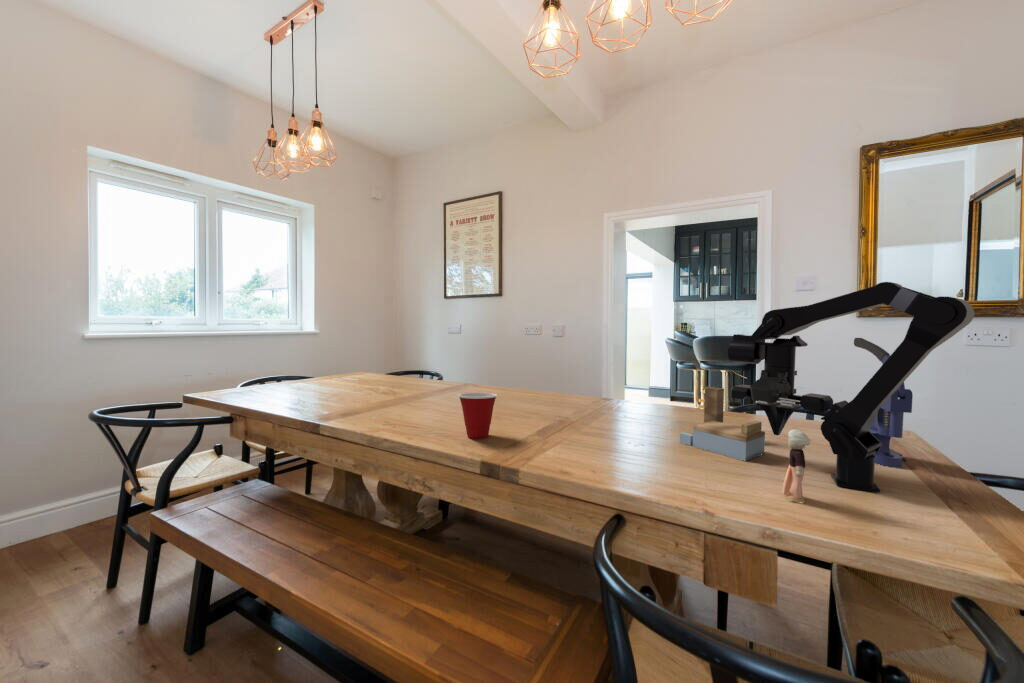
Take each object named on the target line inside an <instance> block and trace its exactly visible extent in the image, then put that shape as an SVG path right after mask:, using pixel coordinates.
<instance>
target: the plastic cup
mask: <svg viewBox="0 0 1024 683" xmlns="http://www.w3.org/2000/svg"><path fill="white" fill-rule="evenodd" d="M457 397H458V398H459V400H460V403H461V409H462V413H463V414H462V415H463V421H464V426H465V430H466V431H465V432H466V435H467V438H469V439H472V440H482V439H486V438H488V437H489V434H490V429H491V428H490V427H491V425H492V419H493V418H492V417H493V411H494V405H495V403H496V402H495V401H496V399H497V397H498V394H497V393H489V392H470V393H469V392H468V393H460V394H458V395H457Z"/></svg>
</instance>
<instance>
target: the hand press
mask: <svg viewBox="0 0 1024 683" xmlns="http://www.w3.org/2000/svg"><path fill="white" fill-rule="evenodd" d="M853 345H854V346H855V347H856V348H860V349H863V350H865V351H867V352H869V353H871V354H872V355H873V356H875V358H876V359H878V360H879V362H880V363H881V364H882V365H883V364H884V363H885V361H886V360H887V359H888V358H889V357H890V356H891V354H890V353H889V352H888V351H886V350H885V349H884V348H882V347H880V346H879V345H877V344H875V343H873V342H871V341H868V340H867V339H864V338H863V337H855V338H854V340H853ZM913 398H914V397H913V391H912V390H911V389H909V388H906V386H905V381H904V382H903V383H902V384H901V385H900V387H899V388H898V389H897V390H896V391H895V392H894V393H893V394H892V395H891V397H890V398H889V399H888V400H887V401H886V402H885V403H884V404H883V405H882V406H881V408H880V409H879V410H878V412H877V415H876V417H875V420H874V423H873V424H872V426H871V428H870V430H869V431H870V432H871V433H872V434H873V435H874V436H875V437H876V438H877V439H878V440H879V441H880V442H881V443H882V446H881V448H880V450H879V451H878V452H877V453H874V454H873V455H874V456H875V463H877V464H876V465H878V464H880V465H879V466H881V465H883V467H886V466H888V467H887V468H892V467H897V468H896V469H898V467H900V468H902V467H903V462H904V463H906V462H907V461H908V459H907V458H906V457H903V454H902V453H900V452H898V451H896V450H894V449H892V448H890V442H891V439H892V438H898V439H902V438H903V431H904V415H905V414H906V413H908V414H909V413H910V414H912V410H913ZM904 413H905V414H904Z"/></svg>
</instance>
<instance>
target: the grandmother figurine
mask: <svg viewBox="0 0 1024 683" xmlns="http://www.w3.org/2000/svg"><path fill="white" fill-rule="evenodd" d="M787 444H788V446H789V447H790V448H791V449H790V450H789V462H788V463H789V464H788V467H787V471H786V474H785V477H784V480H783V485H782V491H781V492H782V494H783V495H786V497H785V498H786V499H785V500H786V501H788V500H790V501H794V502H802V503H801V504H805V503H806V500H805V499H804V496H803V484H802V482H803V480H804V476H805V468H806V458H805V452H804V450H803V449H804V448H805V446H809V445H811V440H810V438H809V437H808V435H807V434H806V433H805V432H803V431H802V430H800V429H796V428H795V429H791V430H789V432H788V440H787ZM790 501H789V502H790ZM794 502H793V503H794ZM804 502H805V503H804Z"/></svg>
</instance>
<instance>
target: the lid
mask: <svg viewBox="0 0 1024 683" xmlns="http://www.w3.org/2000/svg"><path fill="white" fill-rule="evenodd" d="M762 426H763V425H762V421H759V420H755V421H754V420H753V421H750V422H747V423H746V422H745V423H743V424H741V425H736V424H735V425H734V424H730V423H726V422H723V423H722V422H717V421H709V422H705V423H704V422H701V423H697V424H694V425H693V427H692V430H693V429H695V430H699V431H703V432H707V433H711V434H715V435H719V436H723V437H728V438H732V439H736V440H740V441H744V442H747V441H751V440H754V439H757V438H760V437H763V436H765V437H766V431H763V430H762Z"/></svg>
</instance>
